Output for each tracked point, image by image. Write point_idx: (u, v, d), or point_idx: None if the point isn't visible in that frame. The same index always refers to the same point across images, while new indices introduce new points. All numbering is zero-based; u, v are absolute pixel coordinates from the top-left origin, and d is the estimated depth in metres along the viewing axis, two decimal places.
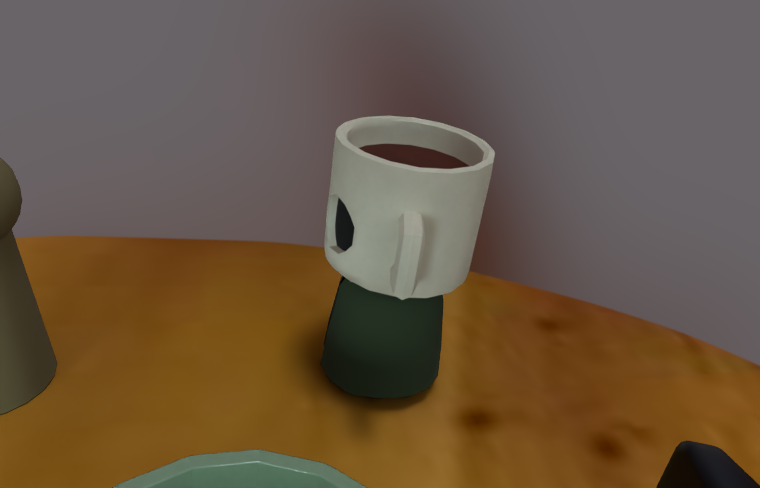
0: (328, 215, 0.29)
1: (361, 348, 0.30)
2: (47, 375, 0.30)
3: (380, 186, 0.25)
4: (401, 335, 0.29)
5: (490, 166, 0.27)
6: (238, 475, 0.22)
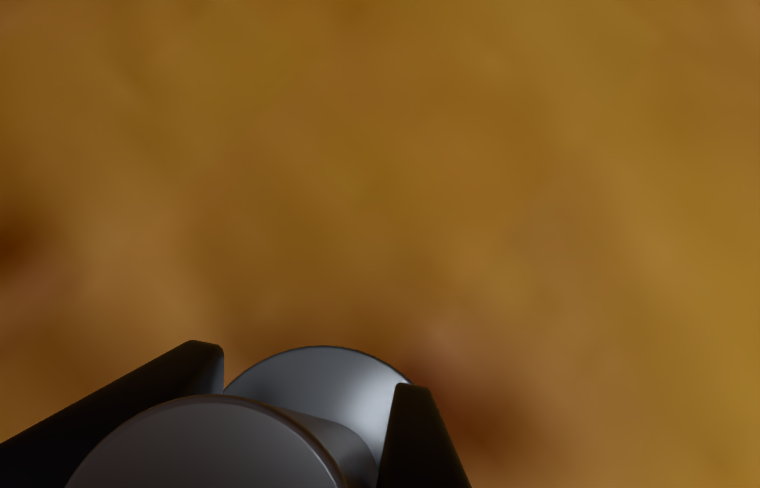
0: None
1: None
2: None
3: None
4: None
5: None
6: None
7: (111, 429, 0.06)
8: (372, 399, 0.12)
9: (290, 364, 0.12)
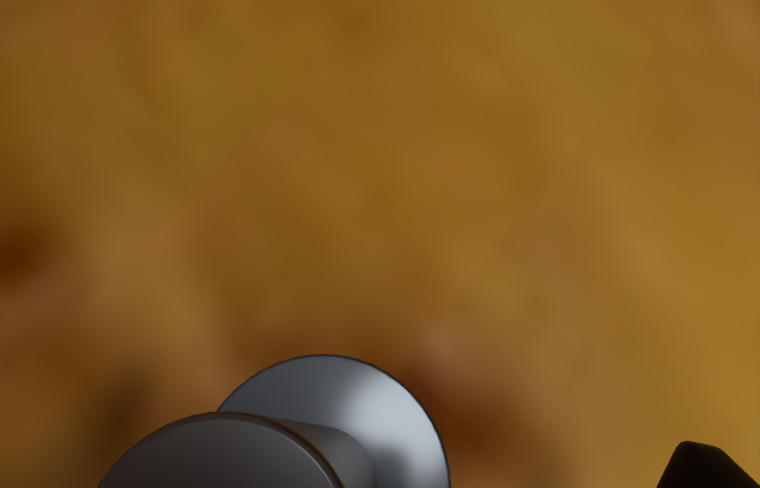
0: None
1: None
2: None
3: None
4: None
5: None
6: None
7: None
8: (370, 405, 0.12)
9: (291, 372, 0.13)
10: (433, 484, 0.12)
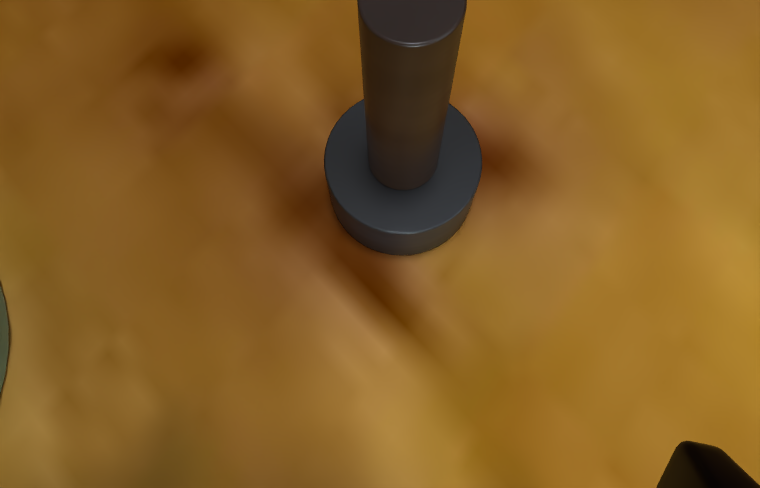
0: None
1: None
2: None
3: None
4: None
5: None
6: None
7: None
8: None
9: None
10: (471, 156, 0.20)
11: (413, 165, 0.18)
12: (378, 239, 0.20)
